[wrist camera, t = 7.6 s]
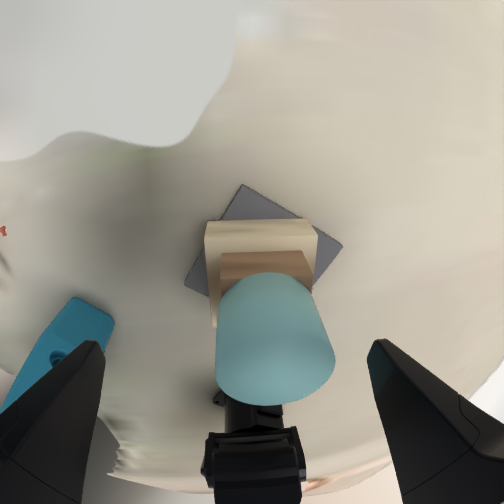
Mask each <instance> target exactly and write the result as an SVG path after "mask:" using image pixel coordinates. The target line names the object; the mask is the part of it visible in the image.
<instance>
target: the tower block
mask: <svg viewBox="0 0 504 504" xmlns="http://www.w3.org/2000/svg"><path fill="white" fill-rule="evenodd" d="M265 272H274V273H282V274H286V275H289V276H291V277H293V278H295V279H297V280H299V281H300V282H302V283H303V284H304V285H305V286H306V287H307V289H308V290H309V291H310V293H311V291H312V283H313V273H312V271H311V269H310V267H309V264H308V262H307V260H306V258H305V256H304V254H303V252H302V250H296V251H267V252H238V253H222V255H221V272H220V284H221V297H222V296H223V295H224V293H225V292H226V291H227V290H228V289H229V288H230V287H231V286H232V285H233V284H235V283H236V282H238V281H239V280H241V279H243V278H245V277H248V276H250V275H254V274H258V273H265Z"/></svg>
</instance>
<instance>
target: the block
mask: <svg viewBox="0 0 504 504" xmlns="http://www.w3.org/2000/svg"><path fill="white" fill-rule="evenodd" d="M114 324H115V323H114V320H113V318H112V317H111V316H110V315H108V314H106V313H104V312H103V311H101V310H99V309H97V308H95V307H93V306H91V305H90V304H88V303H86V302H84V301H83V300H81V299H79V298H73V299H71V300H70V301H69V303H68V304H67V305H66V306H65V307H64V308H63V309H62V311H61V312H60V313H59V314H58V315H57V316H56V318H55V319H54V320H53V321H52V322H51V324H50V325H49V326H48V327H47V328H46V330H45V331H44V332H43V333H42V335H41V336H40V338H39V339H38V341H37V343H36V344H35V346H34V348H33V349H32V351H31V353H30V354H29V356H28V358H27V359H26V361H25V363H24V365H23V367H22V368H21V370H20V372H19V374H18V376H17V377H16V379H15V381H14V383H13V385H12V387H11V389H10V391H9V393H8V395H7V397H6V399H5V401H4V403H3V405H2V407H1V410H0V413H2V412H3V411H4V410H5V409H6V408H7V407H8V406H10V405H11V404H12V403H13V402H14V401H15V400H17V399H18V398H19V397H20V396H21V395H22V394H23V393H24V392H25V391H26V390H28V389H29V388H30V387H31V386H32V385H33V384H34V383H35V382H37V381H38V380H39V379H40V378H41V377H42V376H43V375H45V374H46V373H47V372H48V371H49V370H50V369H52V368H53V367H54V366H55V365H56V364H57V363H59V362H60V361H61V360H62V359H63V358H64V357H66V356H67V355H68V354H69V353H70V352H71V351H73V350H74V349H75V348H76V347H77V346H79V345H80V344H81V343H82V342H83V341H85V340H87V339H89V340H96V341H98V342H99V344H100V347H101V349H102V352H103V354H104V350H105V348H106V345H107V343H108V340H109V338H110V335H111V333H112V330H113V328H114Z"/></svg>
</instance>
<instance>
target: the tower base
mask: <svg viewBox="0 0 504 504" xmlns="http://www.w3.org/2000/svg"><path fill="white" fill-rule="evenodd" d="M317 241H318V235H317V233H316V232H315V230H314V229H313V227H312V226H311V224H310V223H309V221H308V220H307V219H260V220H228V221H208V222H207V227H206V232H205V236H204V245H205V257H206V268H207V278H208V288H209V298H210V307H211V316H212V325H213V327H217V312H218V306H219V302H220V300H221V298H222V297H221V284H220V272H221V255H222V253H238V252H267V251H296V250H302V252H303V254H304V256H305V258H306V260H307V262H308V264H309V267H310V269H311V271H312V273H313V278H314V270H315V261H316V251H317ZM312 287H313V283H312ZM311 295H312V291H311Z"/></svg>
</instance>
